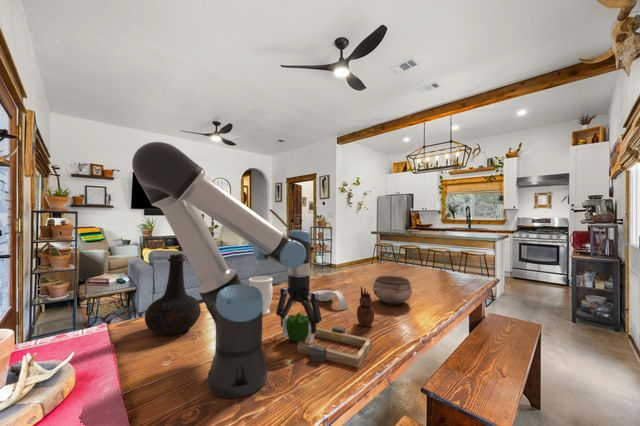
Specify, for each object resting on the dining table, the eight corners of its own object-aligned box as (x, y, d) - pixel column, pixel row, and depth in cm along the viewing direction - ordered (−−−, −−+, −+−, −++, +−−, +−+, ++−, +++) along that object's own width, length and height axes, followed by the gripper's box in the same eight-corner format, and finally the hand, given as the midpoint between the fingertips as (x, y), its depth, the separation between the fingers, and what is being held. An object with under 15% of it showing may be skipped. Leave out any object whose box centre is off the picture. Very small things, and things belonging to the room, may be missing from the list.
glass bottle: (132, 336, 95) (134, 256, 96) (175, 318, 112) (177, 250, 112) (171, 345, 89) (172, 259, 90) (210, 325, 106) (211, 252, 106)
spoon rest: (307, 298, 143) (307, 284, 143) (326, 295, 149) (326, 282, 149) (333, 312, 123) (334, 296, 123) (354, 308, 129) (354, 293, 129)
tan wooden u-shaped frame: (356, 371, 76) (356, 358, 76) (294, 354, 85) (294, 342, 85) (373, 344, 93) (373, 334, 93) (319, 332, 101) (319, 322, 101)
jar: (266, 317, 115) (267, 282, 115) (243, 315, 117) (244, 280, 117) (275, 309, 125) (276, 276, 125) (254, 307, 127) (255, 275, 127)
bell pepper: (287, 334, 99) (288, 306, 99) (310, 334, 99) (310, 307, 99) (283, 345, 91) (284, 315, 91) (308, 346, 91) (309, 315, 91)
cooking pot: (395, 294, 152) (396, 272, 152) (424, 304, 135) (424, 279, 136) (360, 301, 139) (360, 277, 139) (387, 313, 123) (387, 285, 123)
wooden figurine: (354, 324, 109) (354, 286, 110) (362, 320, 114) (362, 284, 114) (368, 329, 105) (369, 290, 105) (376, 325, 109) (377, 287, 109)
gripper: (332, 276, 94) (331, 341, 94) (278, 269, 103) (277, 328, 103) (323, 280, 87) (322, 351, 87) (266, 273, 97) (265, 336, 97)
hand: (297, 339), depth 95 cm, fingers open, 9 cm apart
